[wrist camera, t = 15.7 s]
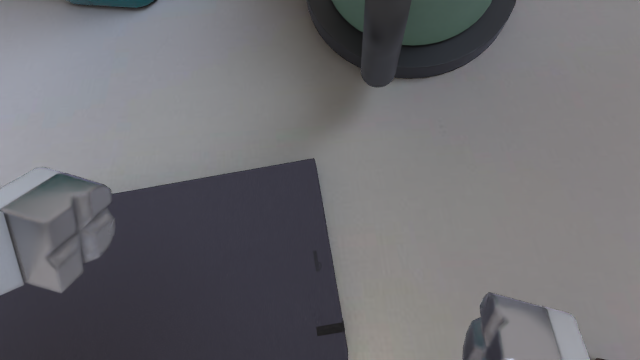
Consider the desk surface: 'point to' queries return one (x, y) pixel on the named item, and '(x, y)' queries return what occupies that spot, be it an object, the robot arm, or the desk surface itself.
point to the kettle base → (416, 57)
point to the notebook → (196, 278)
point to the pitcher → (113, 3)
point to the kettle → (404, 28)
